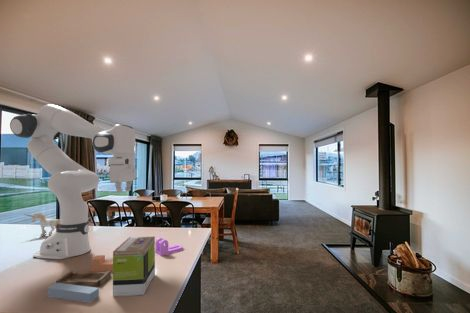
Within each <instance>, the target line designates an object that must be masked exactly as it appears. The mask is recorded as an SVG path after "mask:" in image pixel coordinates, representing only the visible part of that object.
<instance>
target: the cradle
mask: <svg viewBox="0 0 470 313" xmlns="http://www.w3.org/2000/svg"><path fill="white" fill-rule="evenodd" d="M111 276H112V271H105V272H91V271H90V272H89V271H88V272H84V271H82V272H80V271H79V272H74V271H69V272H67V273H65V274H64V275H63V276H61V277H60V278H58V279H57V280H56V281H55V284H56V283H65V284H73V285H80V286H88V287H101V286H102V285H104V283H106V281H108V279H109V278H111ZM81 278H82V279H85V278H88V279H89V278H95V279H96V278H98V279H97V280H70V279H81Z"/></svg>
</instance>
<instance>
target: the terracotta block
mask: <svg viewBox="0 0 470 313" xmlns="http://www.w3.org/2000/svg"><path fill="white" fill-rule="evenodd" d="M90 261H91V264H90V266H91V267H90V272H107V271H111V272H113V259H107V260H106V255H105V254H104V255H98V254H97V255H96V256H94V257H92V258H91V260H90Z"/></svg>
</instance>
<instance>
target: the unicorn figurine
mask: <svg viewBox="0 0 470 313" xmlns="http://www.w3.org/2000/svg"><path fill="white" fill-rule="evenodd" d="M25 216H26V217H32V219H31V222H32V223H35V222H36V220H38V219H39V221H40V222H39V225H40V228H41V234H40V235H43V236H45V235H46V234H47V230H46V229H45V227H50V229H51V230H50V231H49V232H48V237H49V236H51V235H52V234H53V232H54V230H55V229H56V230H57V228H55V227H56V225H58V224H60V220H61V218H59V219H58V218H57V219H56V218H48V217H47V216H46V214H44V213H41V212H35V213H32V215H31V214H25ZM54 226H55V227H54ZM54 228H55V229H54ZM45 233H46V234H45Z"/></svg>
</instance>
